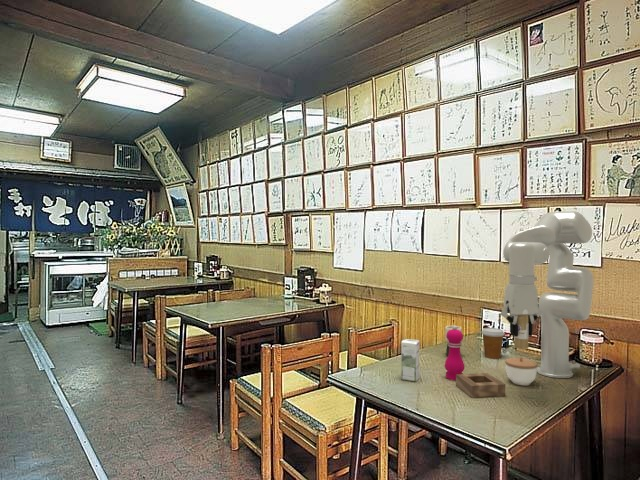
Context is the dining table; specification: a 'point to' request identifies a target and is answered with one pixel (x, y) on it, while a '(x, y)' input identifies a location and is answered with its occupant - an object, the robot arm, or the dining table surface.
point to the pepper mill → (454, 354)
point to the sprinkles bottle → (522, 331)
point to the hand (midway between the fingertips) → (521, 334)
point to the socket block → (480, 385)
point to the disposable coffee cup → (492, 342)
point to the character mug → (446, 337)
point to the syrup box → (410, 360)
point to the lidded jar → (521, 370)
